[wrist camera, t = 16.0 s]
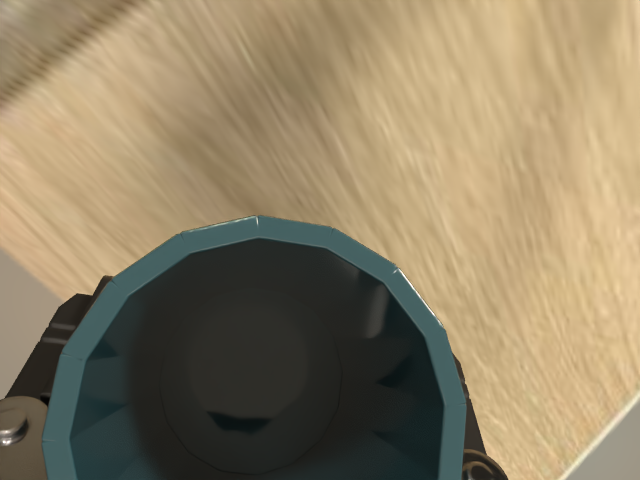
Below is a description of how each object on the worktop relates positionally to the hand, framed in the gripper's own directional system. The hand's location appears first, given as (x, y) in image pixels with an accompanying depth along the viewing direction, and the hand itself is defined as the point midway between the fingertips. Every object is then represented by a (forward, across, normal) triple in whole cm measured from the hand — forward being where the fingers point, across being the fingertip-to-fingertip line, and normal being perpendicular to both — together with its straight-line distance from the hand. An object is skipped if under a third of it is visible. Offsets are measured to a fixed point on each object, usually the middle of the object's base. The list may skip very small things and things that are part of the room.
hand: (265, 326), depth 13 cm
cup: (+2, 0, +4) cm, 5 cm away
